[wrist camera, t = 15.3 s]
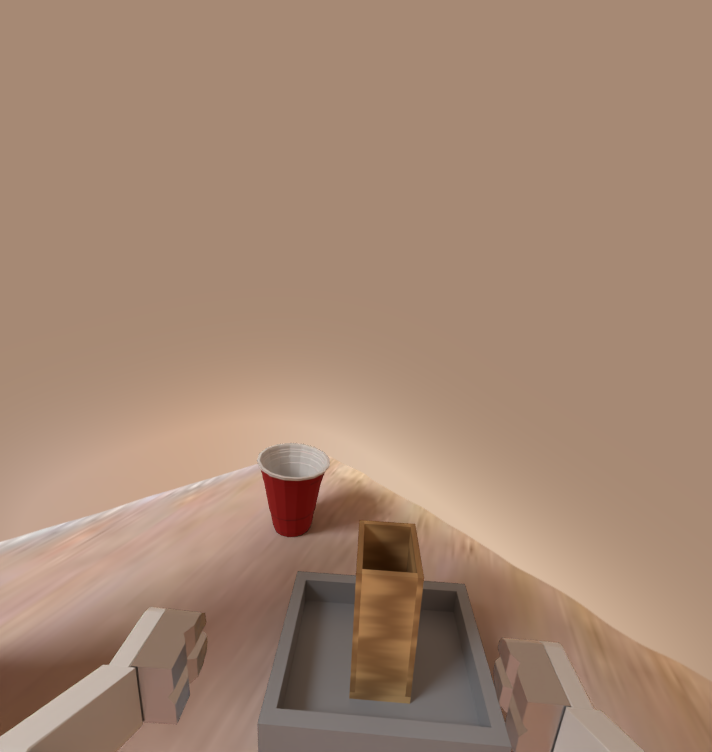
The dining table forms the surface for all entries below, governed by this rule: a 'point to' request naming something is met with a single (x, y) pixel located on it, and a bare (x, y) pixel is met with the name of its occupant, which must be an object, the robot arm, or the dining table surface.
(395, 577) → the wooden pencil holder
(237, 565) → the dining table surface
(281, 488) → the plastic cup
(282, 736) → the gray tray
